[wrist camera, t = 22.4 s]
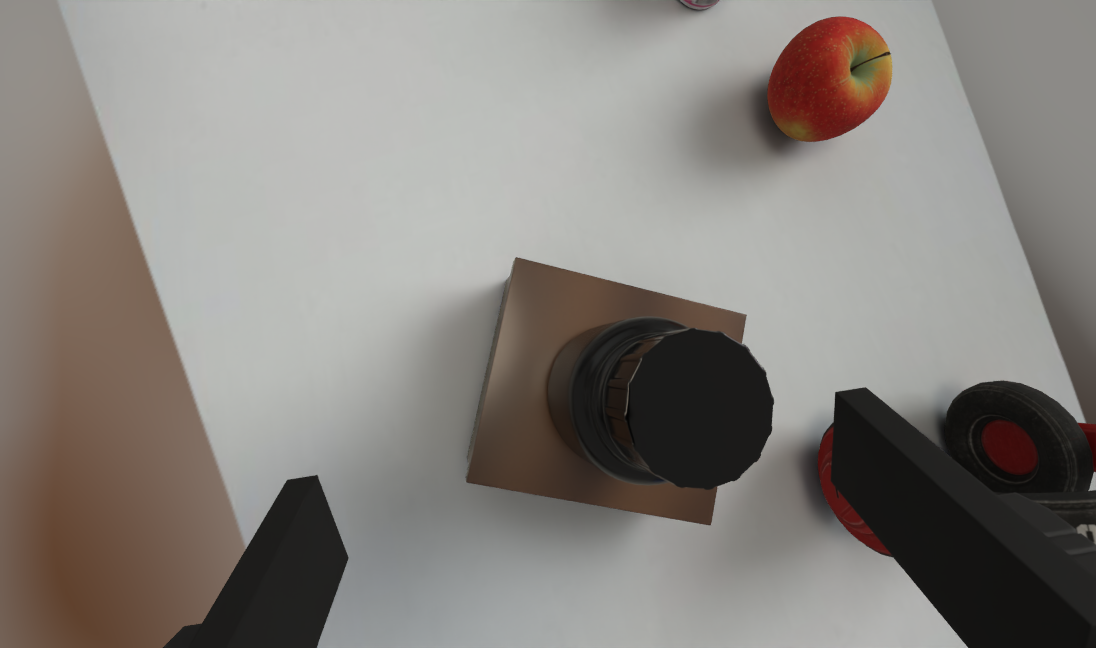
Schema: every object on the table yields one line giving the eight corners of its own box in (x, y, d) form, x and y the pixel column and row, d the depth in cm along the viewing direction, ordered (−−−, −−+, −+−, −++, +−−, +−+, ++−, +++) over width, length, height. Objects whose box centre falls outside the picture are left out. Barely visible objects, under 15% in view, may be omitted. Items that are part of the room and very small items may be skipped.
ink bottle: (692, 455, 36) (815, 498, 24) (561, 486, 34) (624, 549, 22) (664, 307, 36) (771, 279, 24) (533, 330, 34) (580, 312, 23)
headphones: (810, 541, 43) (1113, 686, 24) (784, 416, 44) (1062, 457, 24) (991, 488, 47) (1384, 577, 27) (965, 373, 47) (1335, 378, 28)
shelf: (462, 465, 39) (466, 482, 33) (504, 272, 40) (515, 256, 35) (673, 503, 42) (711, 525, 36) (705, 321, 43) (746, 314, 37)
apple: (810, 51, 47) (908, -32, 37) (845, 141, 47) (952, 81, 37) (729, 77, 45) (809, -3, 35) (766, 169, 45) (856, 115, 35)
